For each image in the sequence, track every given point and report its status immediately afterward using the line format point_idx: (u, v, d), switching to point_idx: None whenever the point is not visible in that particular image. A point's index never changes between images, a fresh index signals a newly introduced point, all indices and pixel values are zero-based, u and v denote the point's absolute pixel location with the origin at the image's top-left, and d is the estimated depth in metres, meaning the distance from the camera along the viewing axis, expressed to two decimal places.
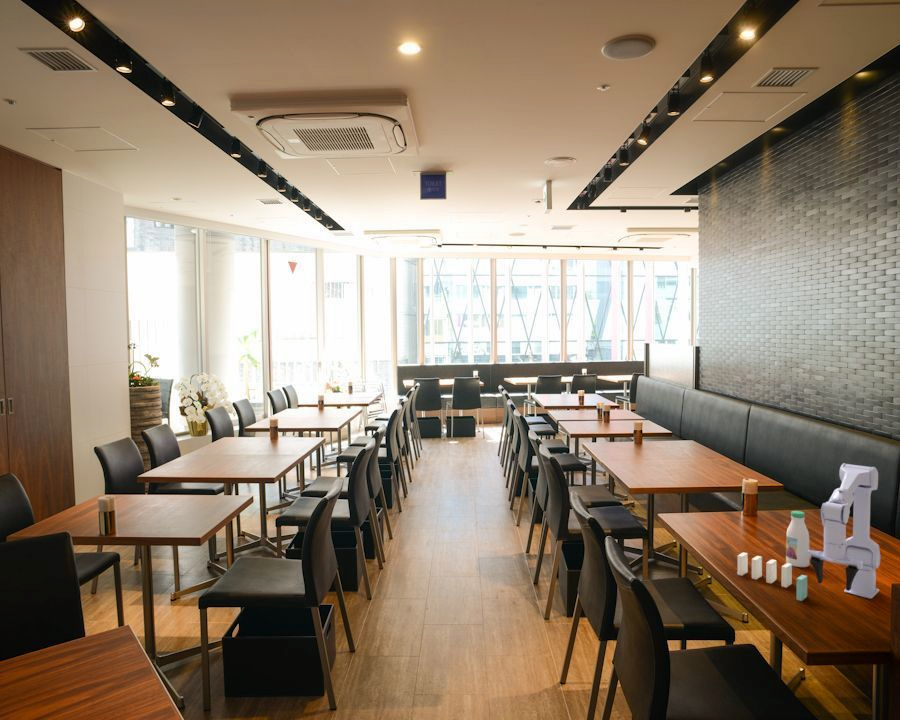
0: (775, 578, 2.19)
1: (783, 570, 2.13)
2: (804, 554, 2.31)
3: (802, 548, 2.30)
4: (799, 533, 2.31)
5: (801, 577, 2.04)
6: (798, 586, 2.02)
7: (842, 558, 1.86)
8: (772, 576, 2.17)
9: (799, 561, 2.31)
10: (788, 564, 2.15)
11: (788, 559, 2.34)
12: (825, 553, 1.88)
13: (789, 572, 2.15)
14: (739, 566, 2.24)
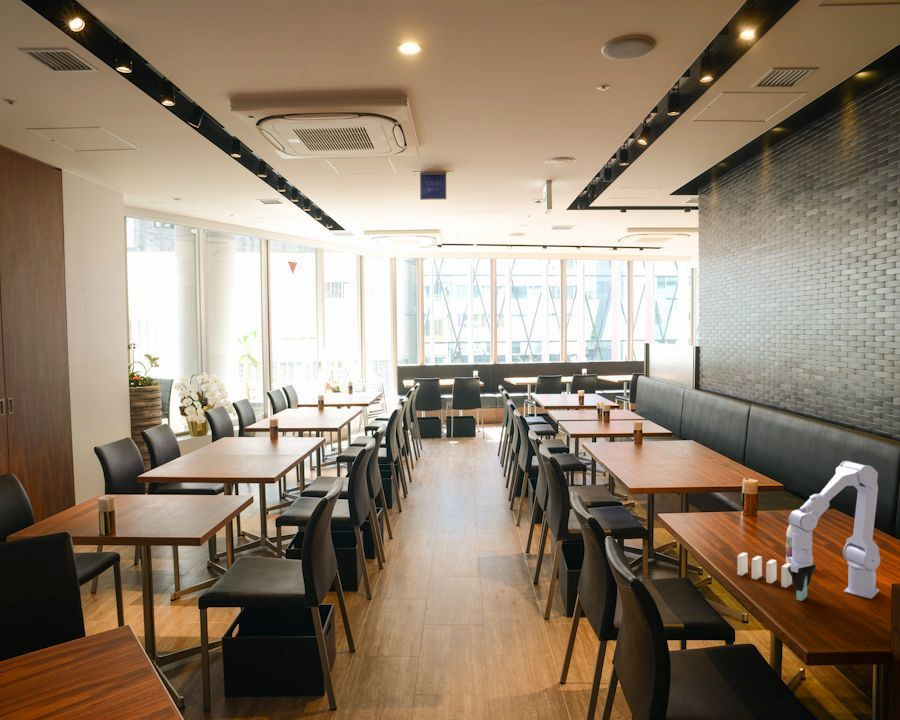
0: (775, 578, 2.19)
1: (783, 570, 2.13)
2: None
3: None
4: None
5: None
6: None
7: (795, 560, 2.03)
8: (772, 576, 2.17)
9: None
10: (788, 564, 2.15)
11: None
12: None
13: None
14: (739, 566, 2.24)
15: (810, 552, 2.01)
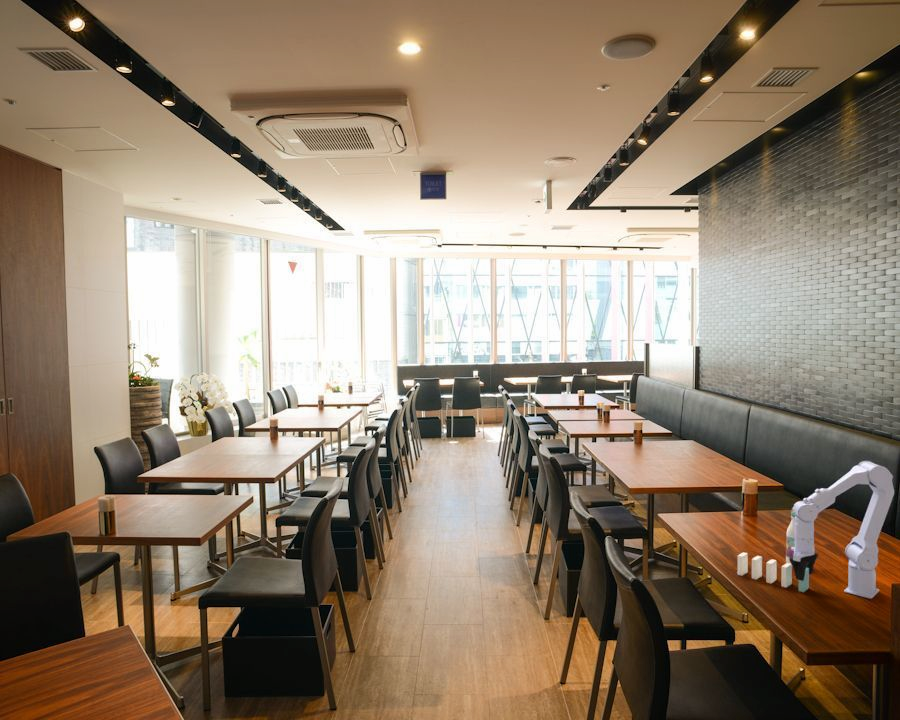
0: (775, 578, 2.19)
1: (783, 570, 2.13)
2: None
3: None
4: None
5: None
6: None
7: (797, 550, 2.10)
8: (772, 576, 2.17)
9: None
10: (788, 564, 2.15)
11: (788, 559, 2.34)
12: None
13: (789, 572, 2.15)
14: (739, 566, 2.24)
15: (812, 542, 2.08)
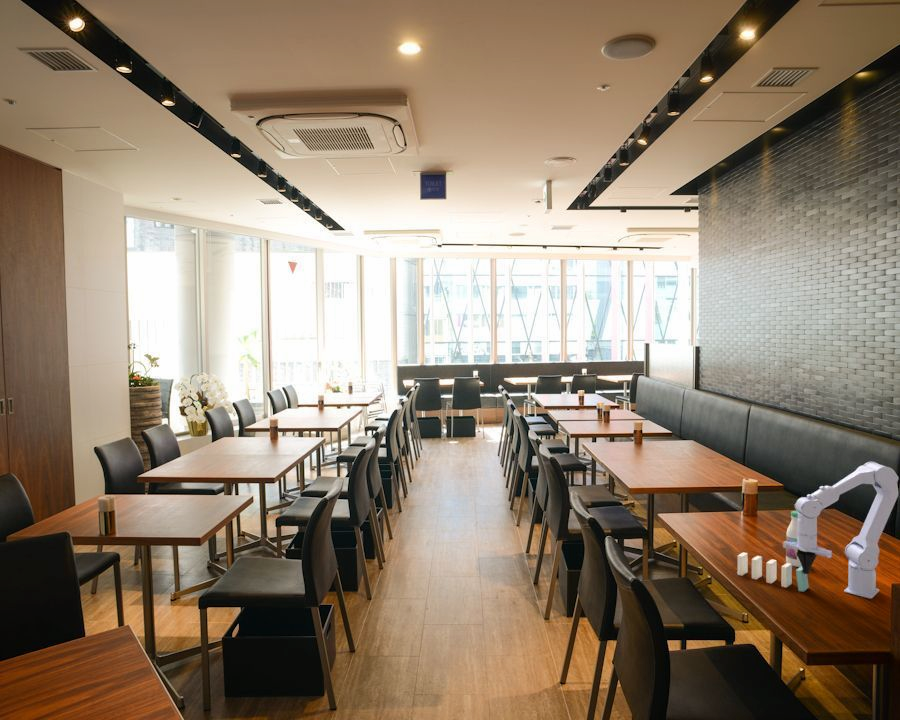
0: (775, 578, 2.19)
1: (783, 570, 2.13)
2: None
3: None
4: None
5: (800, 568, 2.11)
6: (798, 577, 2.10)
7: (813, 548, 2.07)
8: (772, 576, 2.17)
9: (799, 561, 2.31)
10: (788, 564, 2.15)
11: (788, 559, 2.34)
12: (798, 544, 2.10)
13: (789, 572, 2.15)
14: (739, 566, 2.24)
15: None
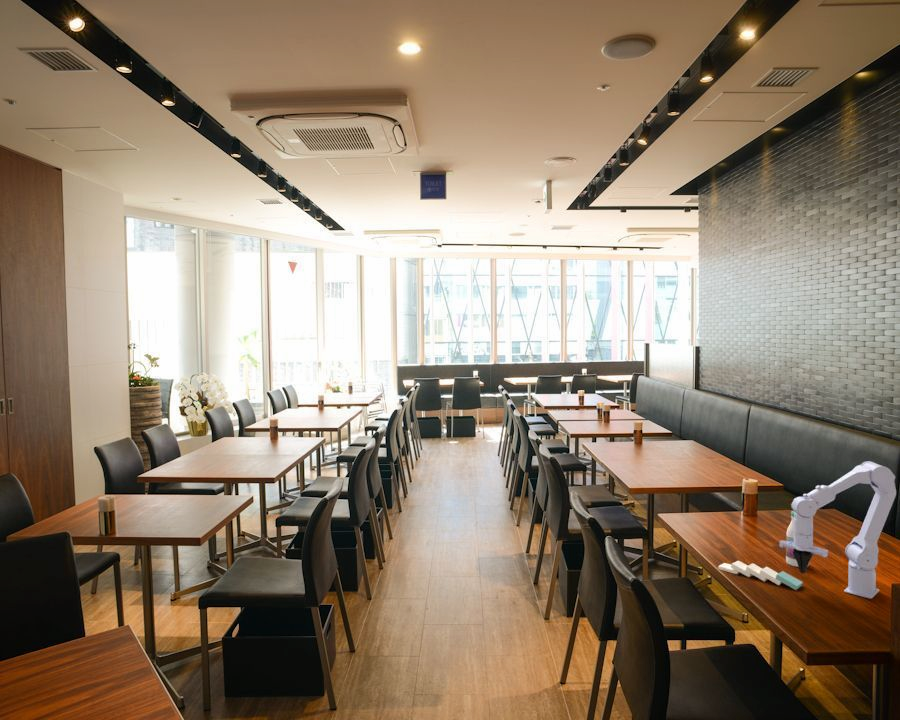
0: None
1: (763, 574, 2.18)
2: None
3: None
4: None
5: None
6: (782, 581, 2.14)
7: (809, 547, 2.08)
8: None
9: None
10: None
11: (788, 559, 2.34)
12: (795, 543, 2.10)
13: (771, 571, 2.19)
14: (728, 571, 2.28)
15: None
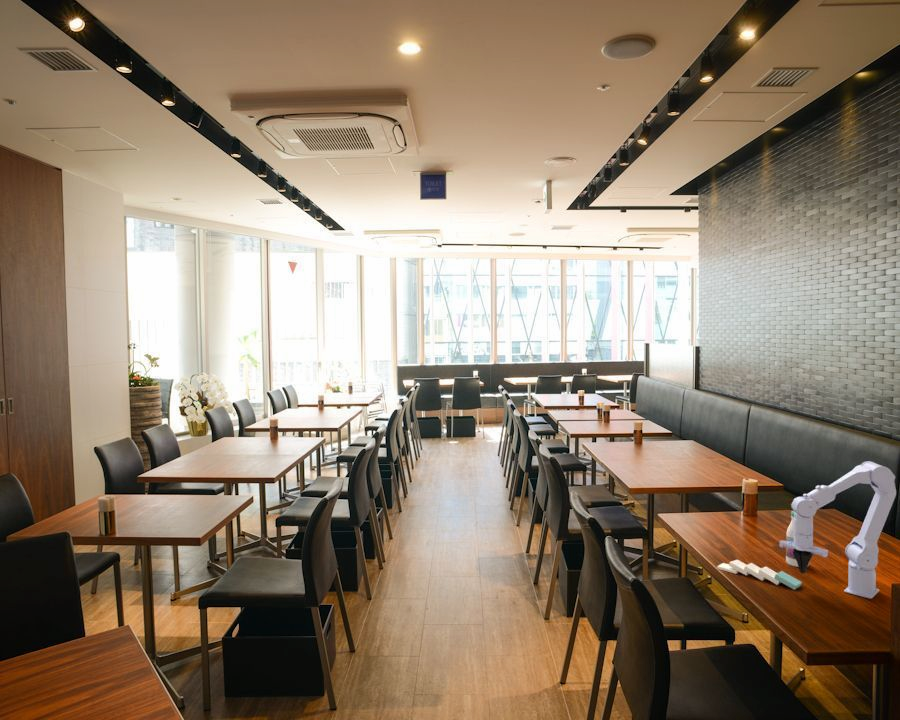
0: None
1: (761, 573, 2.19)
2: None
3: None
4: None
5: None
6: (781, 580, 2.14)
7: (809, 547, 2.08)
8: None
9: None
10: None
11: (788, 559, 2.34)
12: (795, 543, 2.10)
13: (770, 571, 2.20)
14: (727, 571, 2.28)
15: None
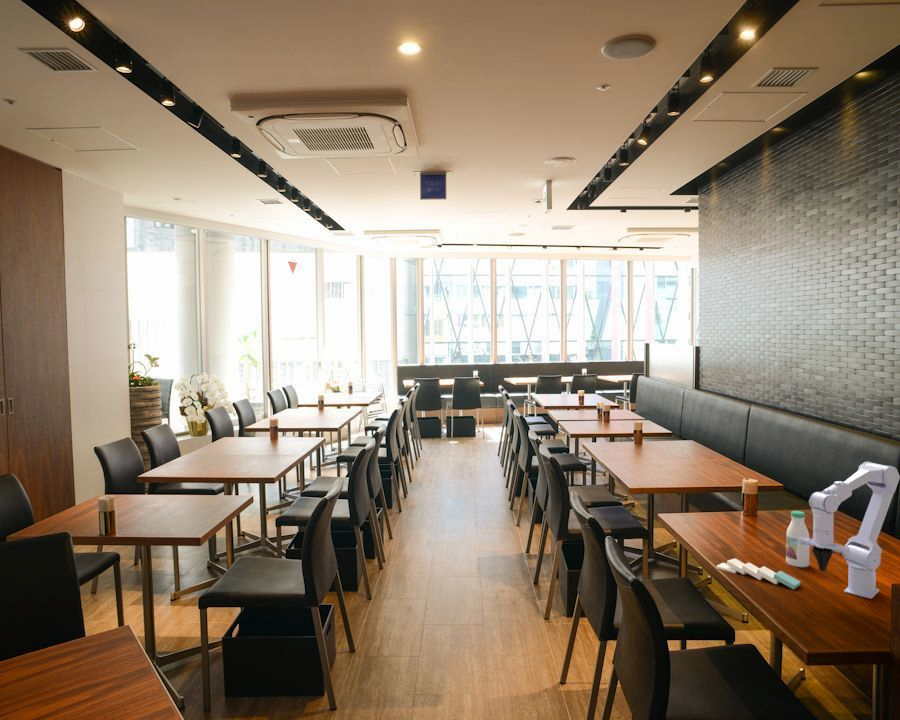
0: None
1: (760, 573, 2.19)
2: (804, 554, 2.31)
3: (802, 548, 2.30)
4: (799, 533, 2.31)
5: None
6: (780, 580, 2.14)
7: (830, 544, 2.00)
8: None
9: (799, 561, 2.31)
10: None
11: (788, 559, 2.34)
12: (814, 540, 2.02)
13: (768, 571, 2.20)
14: None
15: None
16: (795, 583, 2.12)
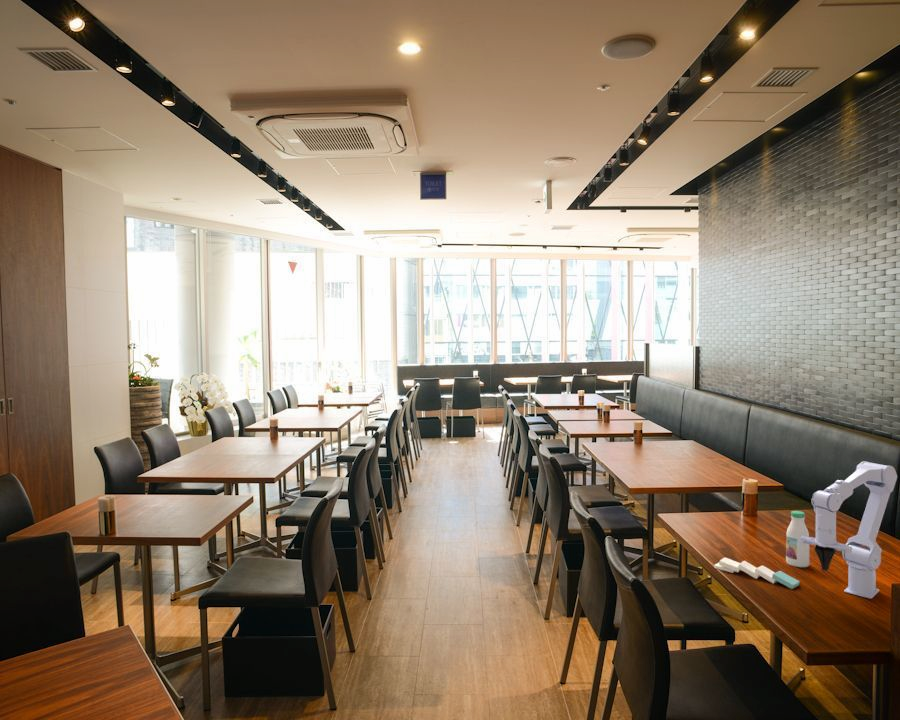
0: None
1: (758, 572, 2.20)
2: (804, 554, 2.31)
3: (802, 548, 2.30)
4: (799, 533, 2.31)
5: None
6: (779, 580, 2.15)
7: (833, 543, 1.98)
8: (753, 570, 2.22)
9: (799, 561, 2.31)
10: None
11: (788, 559, 2.34)
12: (817, 539, 2.01)
13: (766, 570, 2.21)
14: (724, 570, 2.29)
15: None
16: (794, 583, 2.12)
